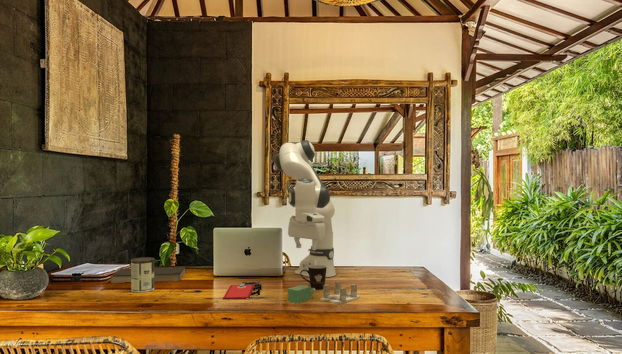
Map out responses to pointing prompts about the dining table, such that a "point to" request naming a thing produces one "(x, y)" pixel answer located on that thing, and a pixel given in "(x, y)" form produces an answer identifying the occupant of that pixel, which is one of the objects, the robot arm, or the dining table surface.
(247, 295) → the red board with handle
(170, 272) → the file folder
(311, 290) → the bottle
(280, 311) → the dining table surface
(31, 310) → the dining table surface
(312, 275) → the coffee mug
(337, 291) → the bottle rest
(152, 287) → the coffee can
